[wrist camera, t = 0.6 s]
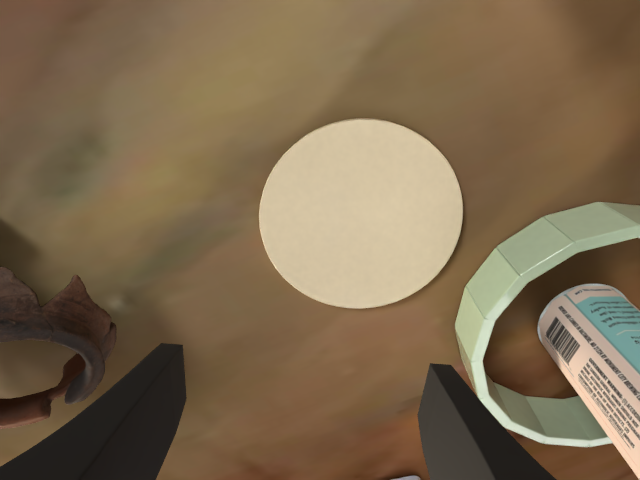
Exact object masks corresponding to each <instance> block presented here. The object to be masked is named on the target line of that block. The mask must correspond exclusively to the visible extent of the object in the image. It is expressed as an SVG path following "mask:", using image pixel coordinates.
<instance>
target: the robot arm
mask: <svg viewBox="0 0 640 480" xmlns="http://www.w3.org/2000/svg"><path fill="white" fill-rule="evenodd" d="M185 401H186V386H185V372H184V358H183V345H177V344H164V343H161V344H160V345H159V346H158V347H156V348H155V349H154V350H153V351H152V352H151V353H150V354H149V355H148V356H146V357H145V358H144V359H143V360H142V361H141V362H140V363H139V364H138V365H137V366H135V367H134V368H133V369H132V370H131V371H130V372H129V373H128V374H127V375H125V376H124V377H123V378H122V379H121V380H120V381H119V382H117V383H116V384H115V385H114V386H113V387H112V388H110V389H109V390H108V391H107V392H106V393H105V394H103V395H102V396H101V397H100V398H99V399H97V400H96V401H95V402H94V403H92V404H91V405H90V406H88V407H87V408H86V409H85V410H83V411H82V412H81V413H80V414H78V415H77V416H76V417H75V418H73V419H72V420H71V421H69V422H68V423H67V424H65V425H64V426H62V427H61V428H60V429H58V430H57V431H56V432H54V433H53V434H51V435H50V436H48V437H47V438H45V439H44V440H42V441H41V442H39V443H38V444H37V445H35V446H33V447H32V448H30V449H29V450H27V451H26V452H24V453H22V454H21V455H19V456H17V457H16V458H14V459H12V460H11V461H9V462H8V463H6V464H4V465H3V466H1V467H0V480H156V478H157V475H158V473H159V471H160V468H161V466H162V464H163V462H164V459H165V457H166V455H167V452H168V450H169V448H170V445H171V443H172V441H173V438H174V436H175V434H176V431H177V428H178V425H179V421H180V418H181V415H182V412H183V408H184V405H185ZM418 421H419V428H420V436H421V442H422V448H423V453H424V457H425V461H426V464H427V468H428V472H429V476H430V480H556V479H555V478H554V477H553V476H552V475H551V474H550V473H549V472H547V471H546V470H545V469H544V468H543V467H542V466H541V465H540V464H539V463H538V462H537V461H536V460H535V459H534V458H533V457H532V456H531V455H530V454H529V453H528V452H527V451H526V450H525V449H524V448H523V447H522V446H521V445H520V444H519V443H518V442H517V441H516V440H515V439H514V438H513V437H512V436H511V435H510V434H509V433H508V432H507V430H506V429H505V428H504V427H503V426H502V425H501V424H500V423H499V422H498V421H497V419H496V418H495V417H494V416H493V415H492V414H491V413H490V411H489V410H488V409H487V408H486V407H485V406H484V404H483V403H482V402H481V401H480V400H479V398H478V397H477V396H476V395H475V394H474V392H473V391H472V390H471V389H470V388H469V386H468V385H467V384H466V383H465V381H464V380H463V379H462V378H461V377H460V375H459V374H458V373H457V372H456V371H455V369H454V368H453V367H452V366H451V365H444V364H431V363H430V366H429V370H428V374H427V378H426V383H425V387H424V391H423V395H422V399H421V403H420V407H419V412H418ZM391 480H421V479H420V477H418V476H415V475H413V476H407V477H402V478H396V479H391Z"/></svg>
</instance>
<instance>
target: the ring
mask: <svg viewBox="0 0 640 480" xmlns="http://www.w3.org/2000/svg"><path fill="white" fill-rule="evenodd" d="M634 238H640V205H629V204H618V203H607V202H595V203H591V204H587V205H584V206H580V207H576V208H572V209H568V210H565V211H561V212H557V213H553V214H550V215H546V216H543V217H541V218H539V219H538V220H536V221H535V222H533V223H532V224H530V225H529V226H527V227H525V228H524V229H522V230H521V231H519V232H518V233H516V234H515V235H513V236H512V237H510V238H508V239H507V240H505V241H504V242H502V243H501V244H499V245H498V246H497V248H495V249H494V250H493V251H492V252H491V254H490V255H489V256H488V258H487V259H486V260H485V261H484V263H483V264H482V265H481V267H480V268H479V269H478V270H477V272H476V273H475V274H474V275H473V277H472V278H471V279H470V281H469V282H468V283H467V284H466V286H465V289H464V293H463V297H462V300H461V304H460V308H459V311H458V315H457V319H456V322H455V331H456V335H457V340H458V344H459V349H460V353H461V358H462V361H463V364H464V366H465V368H466V371H467V373H468V376H469V378H470V380H471V383H472V385H473V387H474V390H475V392H476V394H477V397H478V398H479V400H480V401H481V402H482V403H483V404H484V406H485V407H486V408H487V409H488V410H489V411H490V413H491V414H492V415H493V416H494V417H495V418H496V419H497V420H498V421H499V423H500V424H501V425H502V426H503V427H505V428H507V429H509V430H511V431H514V432H516V433H518V434H521V435H523V436H525V437H528V438H530V439H532V440H535V441H537V442H539V443H543V444H552V445H564V446H577V447H594V446H599V445H605V444H610V443H613V442H612V441H611V439H610V438H609V437H608V435H607V434H606V432H605V431H604V430H603V428H602V427H601V425H600V424H599V423H598V421H597V420H596V419H595V417H594V416H593V414H592V413H591V412H590V410H589V409H588V407H587V406H586V405H585V403H584V402H583V400H582V399H581V398H580V396H575V397H571V398H566V399H556V398H543V397H531V396H524V395H521V394H519V393H517V392H515V391H512V390H510V389H508V388H506V387H504V386H501V385H499V384H497V383H495V382H493V381H492V380H491V379H490V378H489V376H488V375H487V374H486V373H485V370H484V365H483V358H484V355H485V352H486V348H487V345H488V342H489V339H490V336H491V333H492V330H493V327H494V323H495V321H496V319H497V318H498V317H499V316H500V315H501V314H502V312H503V311H504V310H505V309H506V308H507V307H508V305H509V304H510V303H511V302H512V301H513V299H514V298H515V297H516V296H517V295H518V294H519V292H520V291H521V290H522V289H523V288H524V287H525V285H526V284H527V283H528V282H530V281H532V280H533V279H535V278H537V277H538V276H540V275H541V274H543V273H545V272H546V271H548V270H550V269H551V268H553V267H555V266H556V265H558V264H560V263H561V262H563V261H565V260H566V259H568V258H570V257H571V256H573V255H575V254H576V253H578V252H582V251H586V250H590V249H594V248H598V247H602V246H606V245H610V244H614V243H618V242H622V241H626V240H630V239H634Z"/></svg>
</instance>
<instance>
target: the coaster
mask: <svg viewBox="0 0 640 480" xmlns="http://www.w3.org/2000/svg"><path fill="white" fill-rule="evenodd" d="M462 221H463V202H462V194H461V190H460V186H459V183H458V180H457V178H456V175H455V173H454V171H453V169H452V167H451V166H450V164H449V163H448V161H447V159H446V158H445V157H444V156H443V155H442V153H441V152H440V151H439V150H438V149H437V148H436V147H435V146H434V145H433V144H432V143H431V142H429V141H428V140H427V139H426V138H424V137H423V136H421V135H420V134H418V133H417V132H415V131H413V130H411V129H409V128H407V127H405V126H403V125H400V124H397V123H393V122H390V121H386V120H380V119H371V118H357V119H348V120H342V121H338V122H334V123H330V124H328V125H325V126H323V127H320V128H318V129H316V130H314V131H312V132H310V133H309V134H307V135H305V136H304V137H302V138H301V139H300V140H298V141H297V142H296V143H294V144H293V145H292V146H291V147H290V148H289V149H288V150H287V151H286V152H285V153H284V154H283V155H282V157H281V158H280V159H279V160H278V162H277V163H276V164H275V166H274V168H273V170H272V171H271V173H270V175H269V177H268V179H267V182H266V184H265V187H264V189H263V193H262V197H261V201H260V210H259V224H260V232H261V237H262V241H263V244H264V247H265V250H266V252H267V254H268V256H269V258H270V260H271V262H272V263H273V265H274V266H275V268H276V269H277V271H278V272H279V273H280V274H281V275H282V276H283V277H284V279H285V280H287V281H288V282H289V283H290V284H291V285H292V286H293V287H295V288H296V289H297V290H299V291H300V292H302V293H303V294H305V295H307V296H309V297H311V298H313V299H315V300H317V301H320V302H323V303H325V304H329V305H333V306H337V307H344V308H372V307H378V306H383V305H387V304H390V303H393V302H396V301H399V300H401V299H403V298H406V297H408V296H409V295H411V294H413V293H415V292H416V291H418V290H419V289H421V288H422V287H424V286H425V285H426V284H428V283H429V282H430V281H431V280H432V279H433V278H434V277H435V276H436V275H437V274H438V273H439V272H440V271H441V269H442V268H443V267H444V266H445V264H446V263H447V261H448V260H449V258H450V257H451V255H452V253H453V251H454V249H455V246H456V244H457V241H458V238H459V235H460V232H461V226H462Z"/></svg>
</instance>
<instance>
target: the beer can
mask: <svg viewBox="0 0 640 480" xmlns="http://www.w3.org/2000/svg"><path fill="white" fill-rule="evenodd" d="M538 335H539V339H540V341H541V343H542V344H543V346H544V347H545V349H546V350H547V351H548V353H549V354H550V356H551V357H552V358H553V360H554V361H555V363H556V364H557V365H558V367H559V368H560V370H561V371H562V372H563V374H564V375H565V377H566V378H567V379H568V381H569V382H570V384H571V385H572V386H573V388H574V389H575V391H576V392H577V393H578V395H579V396H580V398H581V399H582V400H583V402H584V403H585V405H586V406H587V407H588V409H589V410H590V412H591V413H592V414H593V416H594V417H595V419H596V420H597V421H598V423H599V424H600V425H601V427H602V428H603V430H604V431H605V432H606V434H607V435H608V437H609V438H610V439H611V441H612V442H613V444H614V445H615V446H616V448H617V449H618V451H619V452H620V453H621V455H622V456H623V458H624V459H625V460H626V462H627V463H628V465H629V466H630V467H631V469H632V470H633V472H634V473H635V474H636V476H637V477H638V479H639V480H640V310H639V309H638V308H637V307H636V306H634V305H633V304H632V303H631V302H630V301H629V300H628V299H627V298H626V297H625V296H624V295H623V294H622V293H621V292H620V291H619V290H617V289H615V288H613V287H611V286H608V285H604V284H584V285H579V286H575V287H572V288H570V289H568V290H565V291H564V292H562V293H560V294H559V295H557V296H556V297H555V298H553V299H552V300H551V301H550V302H549V303H548V304H547V306H546V307H545V309H544V310H543V312H542V314H541V315H540V318H539V322H538Z"/></svg>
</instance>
